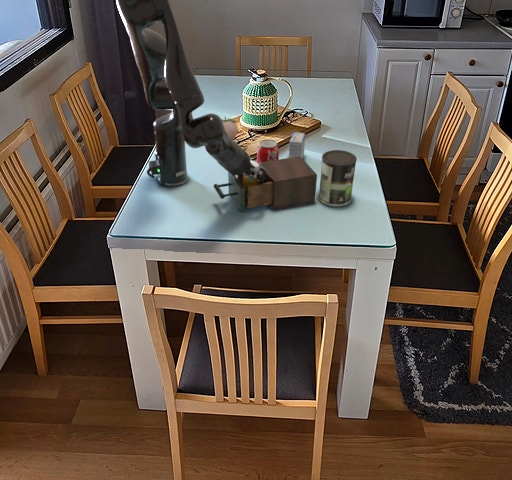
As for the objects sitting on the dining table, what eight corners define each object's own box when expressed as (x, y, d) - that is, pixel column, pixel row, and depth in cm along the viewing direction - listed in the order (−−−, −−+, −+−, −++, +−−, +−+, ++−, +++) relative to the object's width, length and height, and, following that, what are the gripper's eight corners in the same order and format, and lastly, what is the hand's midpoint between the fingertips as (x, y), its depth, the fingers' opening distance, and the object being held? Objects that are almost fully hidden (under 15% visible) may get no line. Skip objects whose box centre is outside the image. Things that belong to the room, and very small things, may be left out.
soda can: (262, 183, 186) (263, 149, 179) (252, 174, 191) (253, 141, 184) (281, 179, 189) (283, 145, 182) (271, 170, 194) (272, 137, 187)
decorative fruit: (218, 149, 206) (217, 123, 200) (210, 140, 212) (209, 114, 205) (242, 145, 209) (242, 119, 203) (233, 136, 215) (233, 111, 209)
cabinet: (273, 210, 173) (274, 181, 167) (258, 190, 183) (259, 162, 177) (314, 202, 177) (317, 174, 171) (298, 183, 187) (300, 156, 181)
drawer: (223, 215, 169) (222, 192, 164) (211, 196, 177) (210, 173, 172) (279, 205, 174) (280, 182, 169) (266, 187, 182) (266, 165, 178)
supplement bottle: (244, 198, 172) (244, 169, 166) (241, 189, 176) (241, 161, 171) (262, 197, 173) (262, 168, 167) (259, 188, 177) (259, 160, 171)
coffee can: (356, 195, 181) (362, 155, 172) (342, 210, 174) (347, 168, 165) (327, 187, 185) (331, 146, 177) (312, 200, 178) (316, 159, 170)
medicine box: (300, 166, 197) (302, 142, 191) (288, 164, 197) (289, 141, 192) (304, 156, 203) (305, 133, 197) (291, 154, 203) (292, 131, 198)
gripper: (205, 162, 161) (231, 183, 176) (247, 176, 155) (270, 197, 170) (216, 138, 162) (241, 161, 177) (258, 151, 155) (280, 174, 170)
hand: (255, 179), depth 173 cm, fingers closed on supplement bottle, 5 cm apart
